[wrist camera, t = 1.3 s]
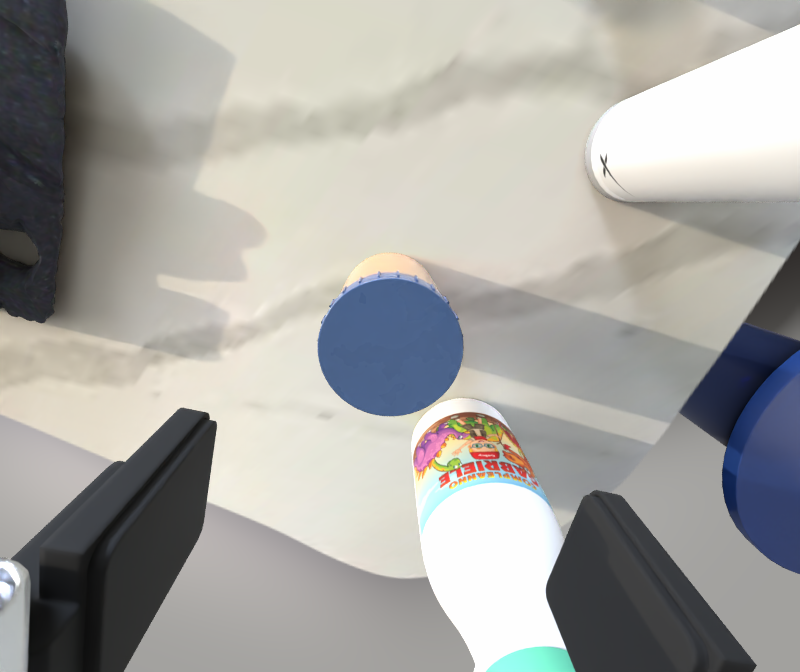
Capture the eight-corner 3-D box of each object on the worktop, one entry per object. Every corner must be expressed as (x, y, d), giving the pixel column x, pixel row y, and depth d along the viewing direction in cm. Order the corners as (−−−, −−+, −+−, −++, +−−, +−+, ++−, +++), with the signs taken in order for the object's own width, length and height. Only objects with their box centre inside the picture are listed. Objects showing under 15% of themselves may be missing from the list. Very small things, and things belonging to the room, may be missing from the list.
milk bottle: (516, 470, 35) (667, 787, 16) (422, 490, 36) (462, 825, 17) (499, 384, 33) (652, 634, 14) (400, 407, 33) (416, 683, 14)
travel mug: (567, 194, 29) (909, 178, 10) (604, 86, 27) (1107, -185, 8) (653, 217, 30) (1129, 245, 11) (695, 113, 28) (1361, -79, 9)
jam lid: (474, 288, 22) (483, 296, 20) (438, 412, 23) (442, 430, 22) (336, 255, 21) (332, 260, 19) (311, 385, 23) (304, 401, 21)
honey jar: (447, 265, 30) (476, 297, 20) (423, 352, 32) (439, 422, 22) (353, 242, 30) (335, 263, 20) (334, 333, 32) (309, 395, 21)
